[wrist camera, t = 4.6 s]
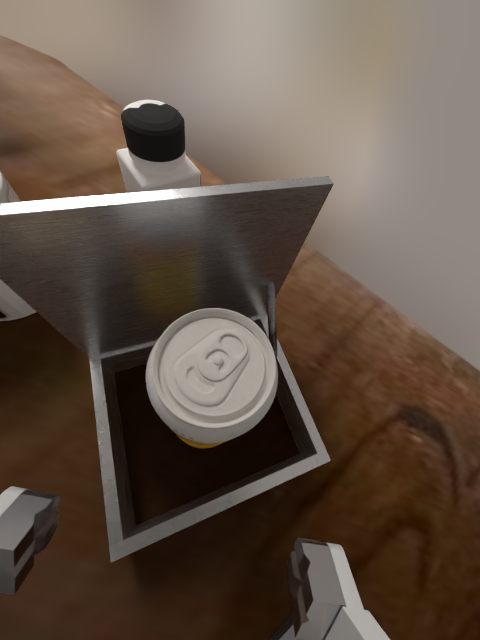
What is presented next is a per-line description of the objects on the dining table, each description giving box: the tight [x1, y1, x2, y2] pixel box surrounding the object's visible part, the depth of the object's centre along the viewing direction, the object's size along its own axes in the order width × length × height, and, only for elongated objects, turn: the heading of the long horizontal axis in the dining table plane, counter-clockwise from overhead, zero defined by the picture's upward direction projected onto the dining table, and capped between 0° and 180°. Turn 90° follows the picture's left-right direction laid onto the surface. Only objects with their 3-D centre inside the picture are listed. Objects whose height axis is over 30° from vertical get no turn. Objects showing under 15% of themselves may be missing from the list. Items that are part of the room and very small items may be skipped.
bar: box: [268, 615, 303, 640], centre depth 18 cm, size 10×1×1 cm, turn 122°
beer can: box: [146, 308, 278, 448], centre depth 17 cm, size 6×6×15 cm
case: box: [0, 176, 334, 562], centre depth 16 cm, size 16×14×18 cm
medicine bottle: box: [116, 100, 201, 193], centre depth 30 cm, size 7×7×12 cm
